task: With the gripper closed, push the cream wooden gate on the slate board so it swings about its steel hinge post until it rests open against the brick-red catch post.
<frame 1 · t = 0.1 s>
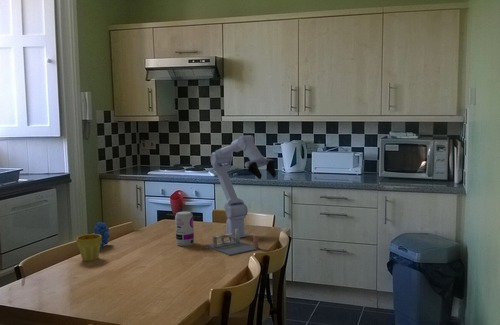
hand: (267, 176, 229), 32 cm above the table, tool tilted 50°, fingers open, 7 cm apart
supplement can: (185, 244, 244), on the table
gate: (224, 239, 236), point 3 cm above the table, hinge at 0.0°
plant pot: (90, 259, 224), on the table
gate frame: (232, 247, 235), on the table
grapes: (103, 247, 244), on the table
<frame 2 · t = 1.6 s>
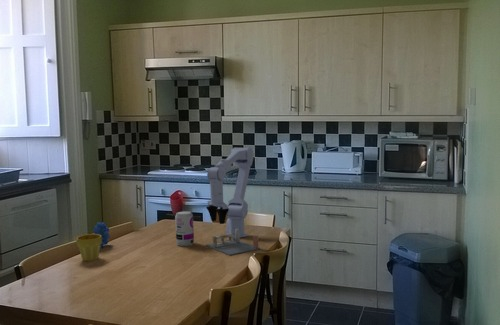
hand: (217, 222, 240), 10 cm above the table, tool pointing down, fingers open, 7 cm apart
nothing on the table moved.
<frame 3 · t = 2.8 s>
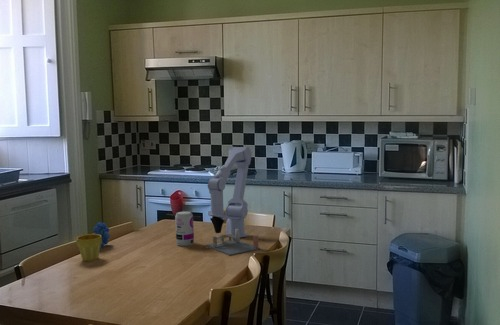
hand: (218, 232, 241), 5 cm above the table, tool pointing down, fingers closed
nothing on the table moved.
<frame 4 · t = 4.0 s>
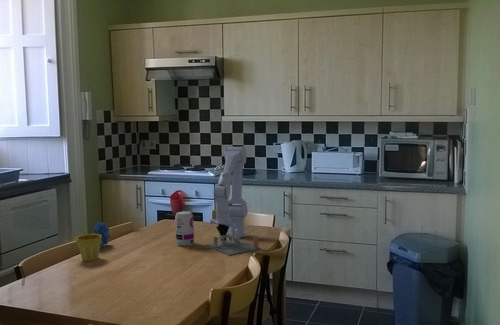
hand: (223, 240, 238), 2 cm above the table, tool pointing down, fingers closed, pressing on gate
gate: (224, 239, 236), point 3 cm above the table, hinge at 2.3°, touching gripper
everything else where it was.
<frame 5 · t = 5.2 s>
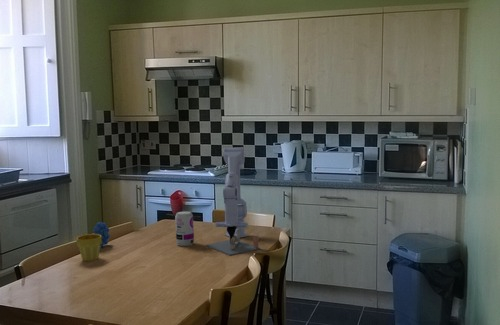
hand: (232, 242, 234), 2 cm above the table, tool pointing down, fingers closed, pressing on gate
gate: (234, 241, 233), point 3 cm above the table, hinge at 46.6°, touching gripper
everything else where it was.
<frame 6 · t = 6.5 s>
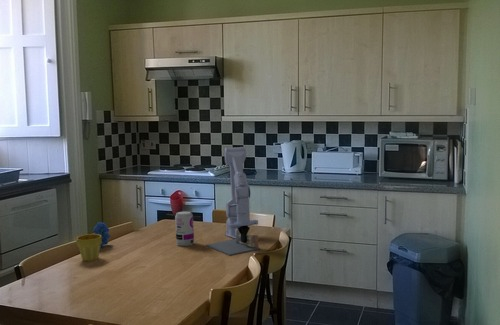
hand: (244, 242, 234), 2 cm above the table, tool pointing down, fingers closed, pressing on gate
gate: (246, 240, 235), point 3 cm above the table, hinge at 92.8°, touching gate frame, gripper
everything else where it was.
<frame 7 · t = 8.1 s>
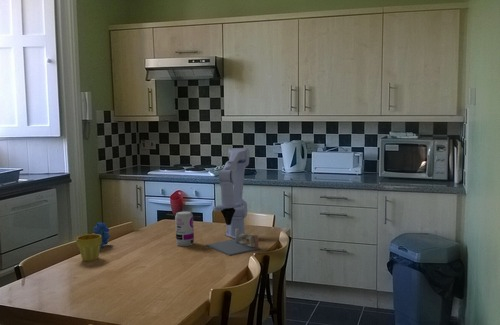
hand: (228, 224, 240), 9 cm above the table, tool pointing down, fingers closed
gate: (246, 240, 235), point 3 cm above the table, hinge at 92.7°
everything else where it was.
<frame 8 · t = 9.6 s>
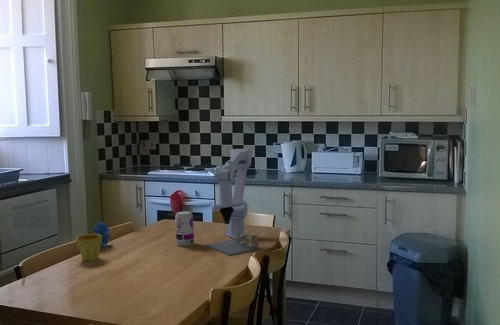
hand: (227, 223, 241), 9 cm above the table, tool pointing down, fingers closed
nothing on the table moved.
at the end: gate at +93° (first picture: +0°); supplement can moved 0.2 cm from its start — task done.
